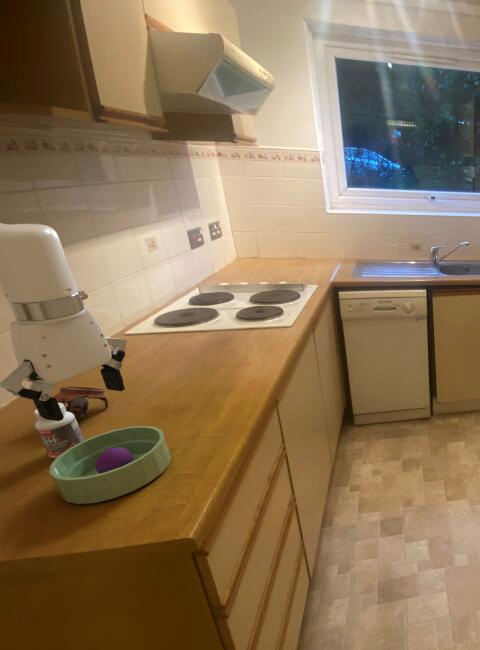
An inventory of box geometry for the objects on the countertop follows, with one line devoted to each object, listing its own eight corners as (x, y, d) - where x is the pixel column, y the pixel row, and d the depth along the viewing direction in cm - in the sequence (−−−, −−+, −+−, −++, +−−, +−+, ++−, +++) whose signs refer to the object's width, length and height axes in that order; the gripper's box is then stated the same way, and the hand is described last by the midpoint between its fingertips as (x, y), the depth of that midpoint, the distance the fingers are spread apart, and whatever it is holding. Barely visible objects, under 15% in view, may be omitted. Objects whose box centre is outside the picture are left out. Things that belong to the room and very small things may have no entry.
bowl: (37, 499, 73) (23, 473, 71) (126, 445, 87) (117, 421, 85) (112, 512, 71) (100, 485, 68) (191, 454, 84) (184, 430, 82)
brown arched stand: (42, 422, 95) (51, 384, 96) (100, 423, 102) (108, 388, 103) (46, 429, 87) (56, 388, 88) (109, 430, 94) (118, 392, 95)
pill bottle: (46, 463, 82) (25, 419, 78) (51, 448, 86) (31, 406, 82) (85, 452, 85) (66, 409, 81) (88, 439, 89) (70, 397, 85)
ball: (93, 480, 77) (82, 457, 75) (121, 462, 81) (112, 440, 79) (117, 484, 76) (106, 461, 74) (144, 465, 80) (135, 443, 78)
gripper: (89, 290, 75) (120, 377, 81) (-47, 324, 59) (5, 429, 66) (125, 293, 74) (154, 382, 80) (-3, 329, 58) (45, 436, 64)
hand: (87, 403), depth 73 cm, fingers open, 9 cm apart
